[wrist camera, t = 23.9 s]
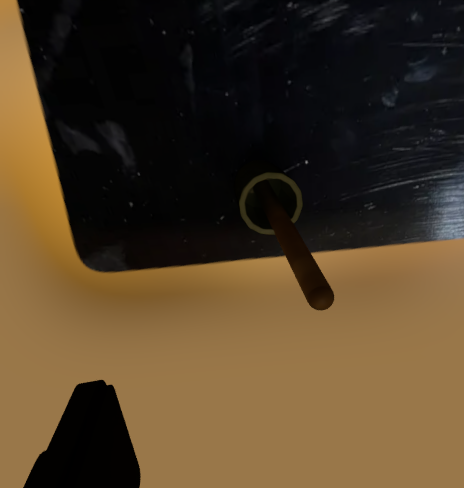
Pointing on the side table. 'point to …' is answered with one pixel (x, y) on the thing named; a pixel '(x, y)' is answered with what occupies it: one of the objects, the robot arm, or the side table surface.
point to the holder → (249, 201)
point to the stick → (295, 249)
